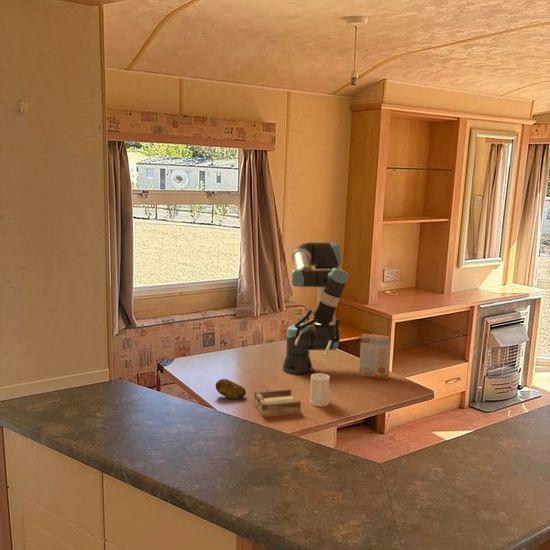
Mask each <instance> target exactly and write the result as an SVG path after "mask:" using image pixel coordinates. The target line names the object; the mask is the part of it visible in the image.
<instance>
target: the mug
mask: <svg viewBox="0 0 550 550" xmlns="http://www.w3.org/2000/svg"><path fill="white" fill-rule="evenodd" d="M330 380H331V379H330V375H328V374H327V373H322V372H320V373H318V372H317V373H316V372H315V373H313V374H311V376H310V397H309V399H310V400H309V404H310V403H311V404H310V405H312V406H315V407H326V406H328V405H329V404H330Z"/></svg>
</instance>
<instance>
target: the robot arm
mask: <svg viewBox="0 0 550 550" xmlns="http://www.w3.org/2000/svg"><path fill="white" fill-rule="evenodd" d="M291 261H292V263H293V265H294V269H293V270H292V272H291V283H292V284H291V285H292V286H293V287H298V288H317V307H316V310H312V309H311V308H308V309H307V312H306V313H305V314H304V315H302V317H301V318H299V320H297V322H295V323H294V324H291V325H288V327H287V328H286V336H285V337H286V347H285V348H286V353H285V354H286V355H285V356H284V360H283V363H282V371H283V372H285V373H287V374H290V375H291V374H292V375H307V374H309V373H311V372H313V363H312V360H311V356H310V351H324V356H328V353H329V352H330V351H336V350H337V349H338V348H339V344H340V340H341V328H340V327H339V324H340V320H339V318H335V313H336V309H337V307H338V304H339V302H340V300H341V296H342V294H343V292H344V290H345V287H346V284H347V282H348V280H349V279H348V278H349V273H348V272H347V271H346V270H344V269H341V268H339V267H341V266H342V254H341V247H340V245H339V244H338V243H336V242H334V243H333V242H305V243H302V244H300V245H298V246H297V247H296V248H294V250H293V252H292V253H291ZM312 266H314V269H312ZM312 315H313V316H314V317H313V318H311V319H309V320H307V319H308V318H309V317H310V316H312ZM306 320H307V321H306ZM305 321H306V322H305ZM312 324H313V326H311V325H312Z"/></svg>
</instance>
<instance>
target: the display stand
mask: <svg viewBox="0 0 550 550" xmlns="http://www.w3.org/2000/svg"><path fill="white" fill-rule="evenodd" d="M254 404H255V406H256V408H257V410H258V411H259V412H260V415H261V417H262V418H268V417H278V416H289V415H297V414H301V411H302V410H301V407H302V406H301V405H302V403H301V400H296V398H294V396H293V395H292V389H291V388H285V389H284V388H282V389H273V390H262V391H254Z"/></svg>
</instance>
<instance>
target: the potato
mask: <svg viewBox="0 0 550 550" xmlns="http://www.w3.org/2000/svg"><path fill="white" fill-rule="evenodd" d="M215 389H216V391H217V392H218V393H219V395H222V396H224V397H225V398H227V399H229V400H231V399H232V400H237V399H238V400H239V399H241V398H243V397H245V395H246V393H247V392H246V388H245V387H243V386H242V385H240V384H239V383H236V382H234V381H232V380H230V379H227V378H222V379H219V380H217V382H216V383H215Z"/></svg>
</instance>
